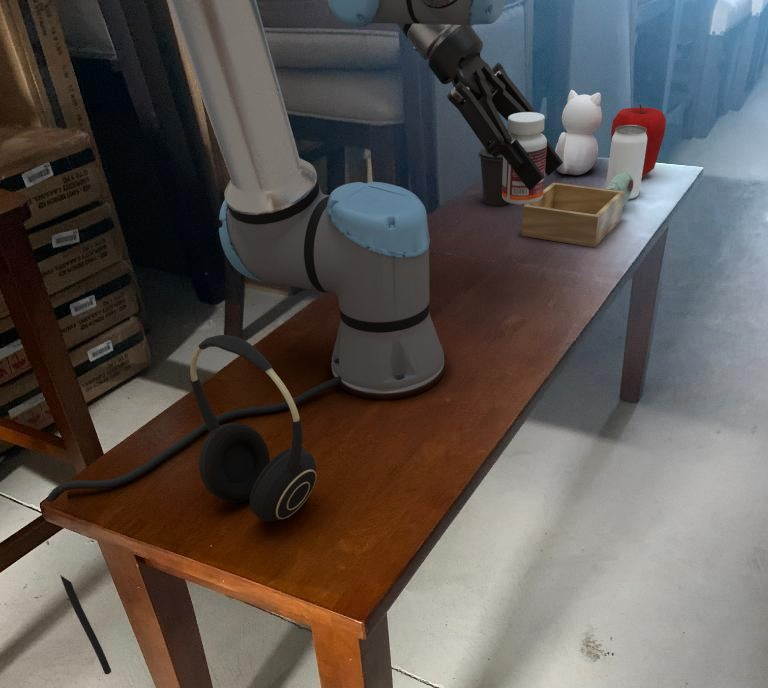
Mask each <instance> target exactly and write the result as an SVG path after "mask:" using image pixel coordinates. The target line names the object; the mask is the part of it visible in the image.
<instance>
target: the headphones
mask: <svg viewBox="0 0 768 688" xmlns="http://www.w3.org/2000/svg"><path fill="white" fill-rule="evenodd" d="M208 348H219V349H220V350H223V351H225V352H229V353H232V354H236V355H237V356H240V357H242V358H244V359H245V360H247V361H248V362H250V363H251V364H253V365H254V366H256V367H257V368H258V369H260V370H261V371H262V372H263V373H266V374H267V375H268V376H269V377H270V379H271V380H272V382H274V383H275V385H276V387H277V388H278V390H279V391H280V392H281V394H282V396H283V398H284V399H285V401H287V403H288V406H289V408H288V409H289V410H290V414H291V417H292V419H291V427H292V428H291V430H292V431H291V432H292V440H291V447H290V448H287V449H284V450H282V451H281V452H279V453H278V454H276V455H275V456H274V457H273V458H272V459H270V458H271V456H270V451H269V448H268V446H267V443H266V441H265V439H264V437H263V436H262V435H261V434H260V433H259V432H258V431H257V430H256V429H255V428H253V427H252V426H250V425H248V424H245V423H240V422H230V423H229V422H228V423H225V424H222V425H220V423H218V421H217V419H216V415H215V413H214V411H213V409H212V407H211V405H210V403H209V401H208V398H207V396H206V395H205V393H204V388H203V386H202V383H201V380H200V378H199V377H198V373H197V364H198V359H199V356H200V354H201V352H202V351H203V350H206V349H208ZM189 370H190V372H189V373H190V379H191V380H190V385H191V387H192V390H193V393H194V394H193V395H194V397H195V400H196V403H197V406H198V410H199V411H200V414H201V416H202V419H203V421H204V423H205V424H206V426H207V428H208V430H207V431H208V433H209V434H208V436H206V438H205V439H204V441H203V443H202V445H201V449H200V452H199V456H198V457H199V458H198V470H199V476H200V478H201V481H202V483H203V485H204V487H205V489H206V490H207V491H208V492H209V493H210V494H211V495H213V496H214V497H215V498H217V499H219V500H221V501H223V502H227V503H235V504H236V503H242V502H246V501H249V508H250V510H251V512H252V514H253V515H254V516H255V517H256V518H258V519H259V520H261V521H263V522H276V521H280V520H285V519H287V518H289V517H291V516H292V515H293V514H295V513H296V512H297V511H298V510H299V509H300V508H301V507H302V506H303V505H304V503H306V501H307V500H308V498H309V497H310V495H311V494H312V492H313V490H314V488H315V485H316V482H317V465H316V460H315V457H314V456H313V454H312V453H310V452H309V451H308V450H306V449H305V448H304V447H303V439H304V438H303V437H304V436H303V427H302V418H301V417H300V415H299V411H298V408H297V405H295V403H294V401H293V397H292V395H291V393H290V391H289V390H288V388H287V387H286V385H285V383H284V382H283V381H282V380H281V378H280V377H279V376H278V374H277V373H276V371H275V370H274V369H273V366H272V364H271V363H270V362H269V360H268V359H266V357H265V356H264V355H263V354H262V352H260V351H259V350H258V349H257V348H256V347H254V346H253V345H252V344H251V343H250V342H248V341H246V340H245V339H243V338H241V337H238V336H234V335H229V334H217V335H214V336H210V337H206V338H205V339H204V340H203V341H201V342H200V343H199V344H198V346H197V349H196V350H195V351H194V353H193V354H192V357H191V361H190V369H189Z"/></svg>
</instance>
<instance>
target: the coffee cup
mask: <svg viewBox="0 0 768 688" xmlns="http://www.w3.org/2000/svg"><path fill="white" fill-rule="evenodd" d="M477 156H478V158H480V168H481V169H480V170H481V183H482V193H483V202H484V204H485V205H488V206H492V207H493V206H494V207H499V206H501V207H502V206H506V205H509V204H510V203H508V202H506V201H505V200H504V199H503V198H502V176H503V155H502V154H501V153H500V154H499V155H498V156H497V157H494V156H493V155H492V154H490V153H489V152H488V151H487V150H486V149H485V147H484V148H482V149H479V152H478V153H477Z"/></svg>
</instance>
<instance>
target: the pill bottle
mask: <svg viewBox="0 0 768 688" xmlns="http://www.w3.org/2000/svg"><path fill="white" fill-rule="evenodd" d="M545 119H546V117H545V115H544V114H543V113H540V112H537V113H535V112H522V113H515V114H512V115H510V116H509V117H508V121H507V126H506V129H507V131H508V132H509V133H511V134H510V136H511V138H512V142H511V144H512V143H513V142H514V141H515V140H516V139H517V140H518V142H519V143H520V144H521V146H522V147H523V148H524V150H525V151H526V152H527V154H528V155H529V156H530V158H531V159H532V160H533V162H534V163H535V164H536V166H537V167H538V168H539V170H540V171H541V172H542V174H543V175H544V178H543V179H542V180H541V181H540V182H539V183H538V184H537V185H536V186H535V187H533V188H532V189H531V190H530V191H529V190H528V188H527V187H526V186H525V184H524V183H523V182H522V180H521V179H520V178H519V176H518V175H517V174H516V172H515V171H514V170H513V168H512V167H511V166H510V165H509V163H508V162H507V161H506V159H505V158H504V157H503V176H502V198H503V199H504V200H505V201H506V202H508V203H509V204H510V205H511V204H512V205H525V204H531V203H535V202H538V201H540V200H541V199H542V197H543V191H544V189H545V177H546V173H545V163H546V149H547V141H548V140H547V136H545V134H544V133H542V132H544V131H545V121H546V120H545Z"/></svg>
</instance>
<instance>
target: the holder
mask: <svg viewBox="0 0 768 688" xmlns="http://www.w3.org/2000/svg"><path fill="white" fill-rule="evenodd" d="M624 194H625V191H618V190H610V189H606V188H602V187H601V188H600V187H594V186H586V185H577V184H570V183H569V184H568V183H561V182H552V183H550V184H549V185H548V186H547V187H546V188H544V191H543V197H542V199H541V200H540V201H538V202H535V203H531V204H523V206H522V222H521V236H522V237H527V238H534V239H540V240H545V241H546V240H547V241H553V242H558V243H564V244H570V245H578V246H582V247H588V248H589V247H590V248H596V247H597V245H598V244H600V243H601V241H603V239H604V238H606V237H607V236H608V234H609V233H610V232H611V231H612V230H614V229H615V227H617V225H618V224H620V222H621V221H622V216H623V215H622V214H623V208H624V205H623V201H624Z"/></svg>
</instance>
